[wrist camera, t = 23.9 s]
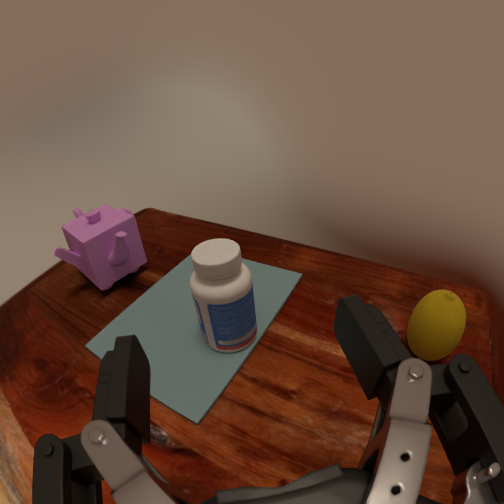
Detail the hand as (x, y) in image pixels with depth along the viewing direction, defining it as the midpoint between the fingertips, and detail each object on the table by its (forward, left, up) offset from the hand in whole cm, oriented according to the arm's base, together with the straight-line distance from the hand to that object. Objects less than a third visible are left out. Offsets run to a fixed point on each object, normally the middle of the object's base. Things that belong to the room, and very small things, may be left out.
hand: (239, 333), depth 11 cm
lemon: (-11, -14, -14) cm, 23 cm away
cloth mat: (+13, -11, -14) cm, 22 cm away
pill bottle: (+8, -9, -14) cm, 19 cm away
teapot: (+30, -11, -14) cm, 35 cm away
